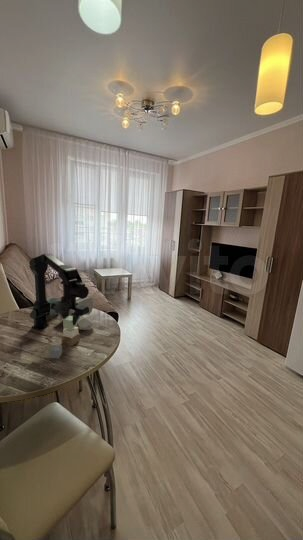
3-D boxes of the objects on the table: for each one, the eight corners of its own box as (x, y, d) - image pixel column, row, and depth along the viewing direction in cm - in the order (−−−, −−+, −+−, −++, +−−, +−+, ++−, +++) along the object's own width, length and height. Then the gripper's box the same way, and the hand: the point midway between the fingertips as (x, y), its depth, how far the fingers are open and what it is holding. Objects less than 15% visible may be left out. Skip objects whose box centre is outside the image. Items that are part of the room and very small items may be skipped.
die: (84, 335, 120) (95, 319, 121) (71, 325, 120) (82, 310, 122) (88, 333, 128) (99, 318, 130) (76, 324, 129) (86, 310, 130)
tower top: (63, 336, 109) (63, 329, 109) (70, 331, 114) (70, 325, 113) (71, 338, 108) (71, 331, 107) (78, 333, 112) (78, 327, 112)
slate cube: (49, 358, 98) (49, 350, 97) (53, 353, 102) (53, 345, 101) (58, 358, 98) (58, 350, 97) (62, 353, 102) (62, 345, 101)
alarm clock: (81, 310, 151) (81, 292, 148) (93, 313, 148) (93, 294, 145) (58, 322, 132) (58, 301, 129) (71, 325, 129) (71, 304, 126)
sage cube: (63, 327, 108) (63, 318, 107) (69, 323, 112) (69, 315, 112) (70, 329, 107) (70, 320, 106) (76, 325, 111) (76, 317, 110)
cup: (43, 315, 140) (43, 300, 138) (53, 311, 147) (52, 297, 145) (53, 318, 137) (52, 302, 135) (62, 313, 144) (62, 299, 142)
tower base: (61, 343, 110) (61, 336, 109) (70, 338, 115) (70, 331, 115) (71, 346, 108) (71, 338, 107) (79, 340, 113) (79, 333, 113)
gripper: (41, 295, 102) (42, 326, 105) (74, 302, 96) (74, 335, 99) (58, 289, 112) (59, 318, 115) (89, 295, 106) (89, 325, 109)
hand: (70, 324), depth 109 cm, fingers closed on sage cube, 4 cm apart
